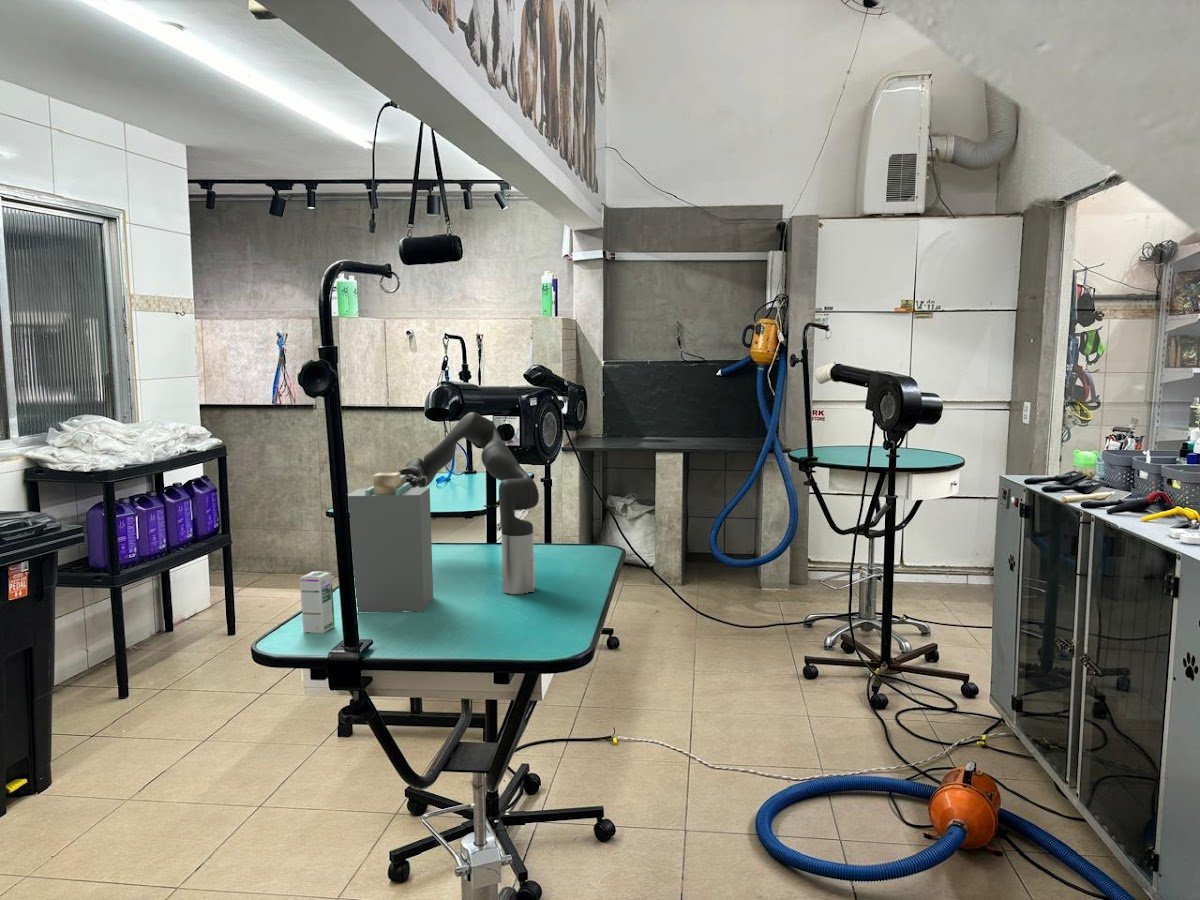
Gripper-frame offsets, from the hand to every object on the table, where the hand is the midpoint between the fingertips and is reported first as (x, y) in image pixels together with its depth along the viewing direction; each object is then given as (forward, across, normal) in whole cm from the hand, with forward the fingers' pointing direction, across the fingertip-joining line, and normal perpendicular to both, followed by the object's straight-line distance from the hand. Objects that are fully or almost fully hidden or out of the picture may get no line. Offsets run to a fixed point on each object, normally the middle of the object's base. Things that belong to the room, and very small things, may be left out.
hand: (399, 483), depth 264 cm
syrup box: (+51, -10, +31) cm, 61 cm away
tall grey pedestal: (+30, +4, +30) cm, 43 cm away
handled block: (+25, +4, -2) cm, 25 cm away
